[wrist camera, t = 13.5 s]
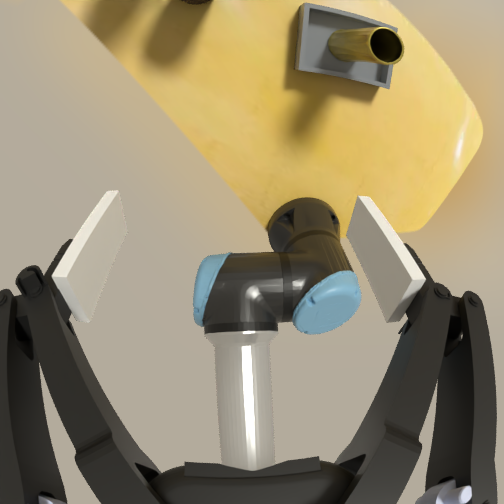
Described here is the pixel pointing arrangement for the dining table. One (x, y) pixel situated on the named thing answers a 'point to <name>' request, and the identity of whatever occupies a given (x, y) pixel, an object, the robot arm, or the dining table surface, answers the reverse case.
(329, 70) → the tray
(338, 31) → the vase
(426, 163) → the dining table surface
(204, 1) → the coffee mug
